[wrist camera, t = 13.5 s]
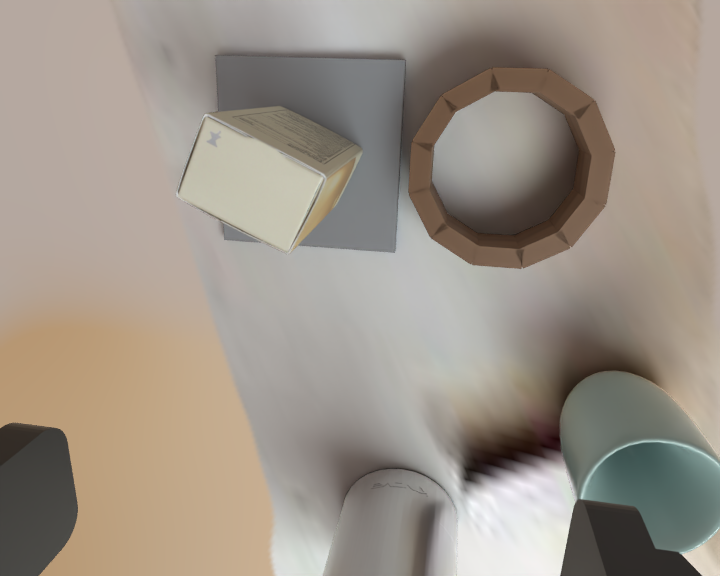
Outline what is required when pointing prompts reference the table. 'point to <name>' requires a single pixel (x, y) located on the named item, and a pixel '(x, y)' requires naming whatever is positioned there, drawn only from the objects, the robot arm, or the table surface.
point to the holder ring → (568, 216)
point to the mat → (342, 116)
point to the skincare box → (267, 173)
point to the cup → (641, 457)
